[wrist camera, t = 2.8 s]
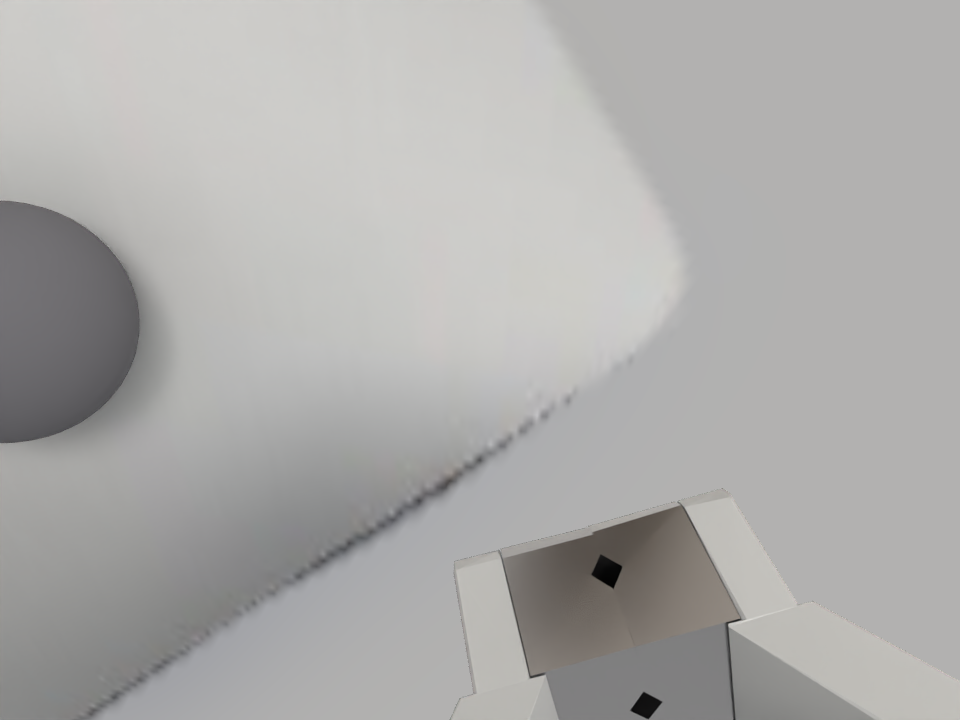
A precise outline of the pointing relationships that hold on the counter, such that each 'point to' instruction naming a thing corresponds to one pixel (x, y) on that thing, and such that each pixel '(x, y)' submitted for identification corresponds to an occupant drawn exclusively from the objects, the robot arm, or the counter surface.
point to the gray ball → (59, 323)
